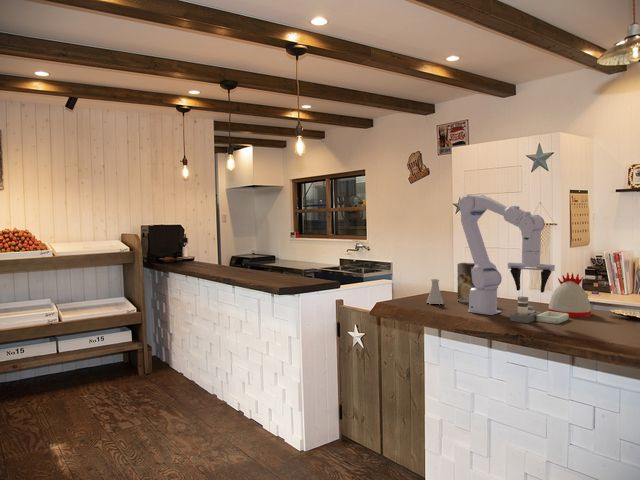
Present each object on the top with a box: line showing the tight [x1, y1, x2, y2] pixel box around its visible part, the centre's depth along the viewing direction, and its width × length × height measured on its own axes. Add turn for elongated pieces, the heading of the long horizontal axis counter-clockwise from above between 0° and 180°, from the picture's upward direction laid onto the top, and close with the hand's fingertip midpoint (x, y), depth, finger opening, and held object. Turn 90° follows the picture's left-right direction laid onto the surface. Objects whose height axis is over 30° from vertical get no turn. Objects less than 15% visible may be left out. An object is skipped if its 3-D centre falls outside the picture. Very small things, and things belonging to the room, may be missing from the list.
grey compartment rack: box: [509, 305, 542, 324], centre depth 171 cm, size 6×11×4 cm, turn 134°
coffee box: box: [456, 262, 475, 304], centre depth 206 cm, size 9×6×16 cm
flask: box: [426, 278, 445, 306], centre depth 203 cm, size 7×7×10 cm
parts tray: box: [535, 310, 570, 325], centre depth 169 cm, size 7×10×2 cm
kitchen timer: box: [547, 272, 592, 318], centre depth 181 cm, size 14×14×15 cm
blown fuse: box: [517, 296, 529, 316], centre depth 169 cm, size 3×3×8 cm
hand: (530, 291), depth 168 cm, fingers open, 7 cm apart
